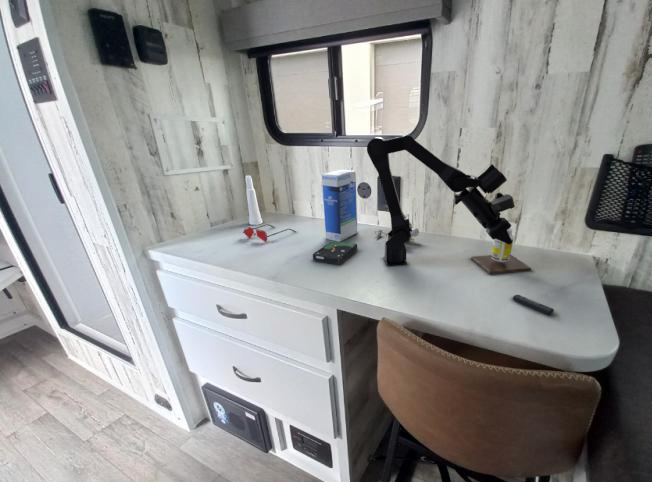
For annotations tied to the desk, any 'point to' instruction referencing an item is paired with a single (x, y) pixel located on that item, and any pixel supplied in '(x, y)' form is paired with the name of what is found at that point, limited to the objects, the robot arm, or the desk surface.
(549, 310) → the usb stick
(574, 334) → the desk surface
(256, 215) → the cosmetic bottle
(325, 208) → the string lights box
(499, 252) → the supplement bottle
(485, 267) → the walnut board
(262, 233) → the glasses
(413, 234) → the clip-on lamp
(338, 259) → the disk drive
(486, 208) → the robot arm
